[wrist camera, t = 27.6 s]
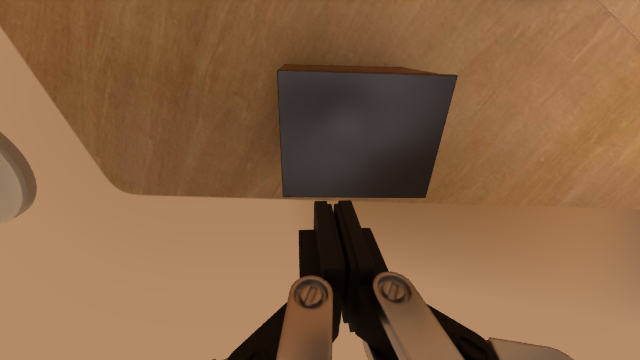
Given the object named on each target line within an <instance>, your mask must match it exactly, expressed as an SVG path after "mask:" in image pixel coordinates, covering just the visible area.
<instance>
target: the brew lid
mask: <svg viewBox="0 0 640 360" xmlns="http://www.w3.org/2000/svg"><path fill="white" fill-rule="evenodd" d="M277 80H278V101H279V123H280V144H281V165H282V186H283V197H352V198H426V194H427V190H428V186H429V183H430V179H431V175H432V171H433V167H434V164H435V160H436V156H437V152H438V148H439V145H440V141H441V137H442V133H443V129H444V126H445V122H446V118H447V114H448V110H449V107H450V103H451V99H452V95H453V91H454V87H455V84H456V80H457V75H449V74H414V73H378V72H343V71H308V70H277Z"/></svg>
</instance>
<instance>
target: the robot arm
mask: <svg viewBox="0 0 640 360" xmlns="http://www.w3.org/2000/svg"><path fill="white" fill-rule="evenodd" d="M299 263H300V264H299V267H300V279H298V280H297V281H295V283H294V284H293V285H292V287H291V289H290V292H289V297H288V302H287V303H286V304H284V305H283V306H282V307H281V308H280V309H279V310H278V311H277V312H276V313H275V314H274V315H273V316H271V318H269V319H268V320H267V321H266V322H265V323H264V324H263V325H262V326H261V327H260V328H258V329H257V330H256V331H255V332H254V333H253V334H252V335H251V336H250V337H249V338H248V339H246V340H245V341H244V342H243V343H242V344H241V345H240V346H239V347H238V348H237V349H236V350H235V351H233V353H232V354H231V355H230V356H229V357H228V358H227V359H224V360H332V343H333V342H334V340H335V339H336V338H337V336H338V333H339V324H340V320H341V311H342V317H343V322H344V323H348V324H349V329H350V332H355V334H356V335H357V336H359V337H360V338H361V339H363V345H364V349H365V352H366V354H367V357H368V360H573V359H572V358H571V357H569V356H568V355H566V354H565V353H563V352H561V351H559V350H557V349H554V348H550V347H546V346H539V345H533V344H527V343H521V342H515V341H509V340H503V339H497V338H491V337H489V339H488V340H484V338H482V337H481V336H479V335H478V334H477V333H475V332H473V331H472V330H470V329H468V328H466V327H465V326H463V325H461V324H460V323H458V322H456V321H455V320H453V319H451V318H450V317H448V316H446V315H445V314H443V313H441V312H439V311H438V310H436V309H434V308H432V307H431V306H429V305H428V304H426V303H425V301H424V300H423V298H422V297H421V296H420V294H419V293H418V291H417V290H416V288H415V287H414V285H413V284H412V283H411V282H410V281H409V279H407V278H406V277H404V276H403V275H401V274H398V273H395V272H389V271H388V269H387V266H386V264H385V262H384V259H383V257H382V255H381V252H380V250H379V248H378V245H377V243H376V241H375V238H374V236H373V233H372V231H371V229H370V228H361V226H360V223H359V221H358V218H357V215H356V213H355V210H354V208H353V205H352V202H351V201H350V200H349V201H339V202H338V204H334V213H333V210H332V205H331V204H327V201H315V203H314V230H299ZM213 360H216V359H213Z"/></svg>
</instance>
